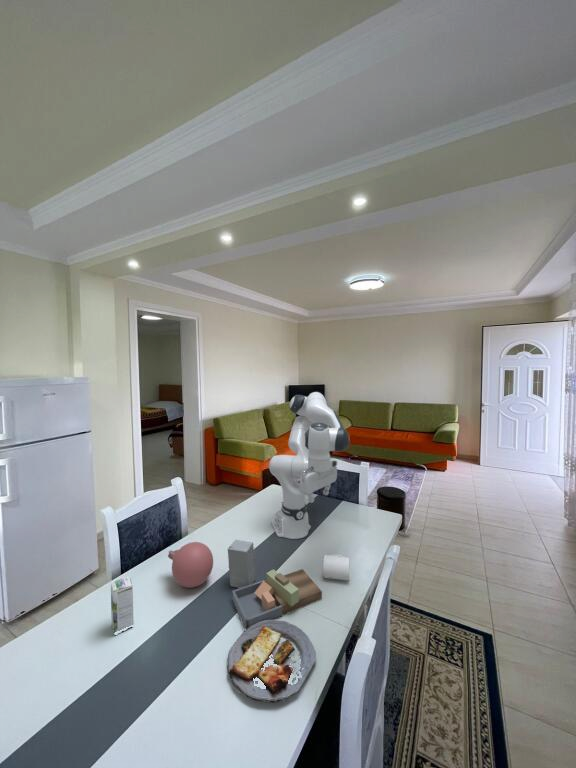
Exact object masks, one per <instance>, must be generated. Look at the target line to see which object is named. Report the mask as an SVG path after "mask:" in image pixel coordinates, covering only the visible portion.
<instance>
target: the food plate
mask: <svg viewBox="0 0 576 768" xmlns="http://www.w3.org/2000/svg"><path fill="white" fill-rule="evenodd" d="M281 638H283V639H284V640H285V641H282V642H281V644H280V646H279V643H280V641H281ZM293 645H294V646H295V647H294V646H293ZM278 646H279V647H278ZM277 647H278V648H277ZM229 648H230V649H229V650H228V655H227V673H228V675H229V677H230V680H231V683H232V684H233V685H234V686H235V688H237V689H238V690H239V691H240V692H241V693H242V694H243V695H245V696H246V698H247V699H248V698H249V699H251V700H252V701H256V702H257V701H258V702H269V703H276V702H277V703H278V702H280V701H281V702H283V700H284V701H285V700H287V699H288V698H289V697H290V696H291V697H292V696H294V695H296V693H298V691H299V690H300V689H301V687H302V685H303V684H304V682H305V680H306V679H307V677H308V675H309V673H310V672H311V670H312V668H313V666H314V665H315V664H316V659H317V656H316V655H317V653H316V650H315V647H314V645H313V642H312V641H311V639H310V638H309V635H307V634H306V632H304V631H303V630H302V628H300V627H298V626H296V625H295V624H292V623H290V622H288V621H286V620H278V619H275V620H264V621H261V622H258V623H256V624H254V625H252V626H249V627H248V628H247V629H246V630H244V631H243V632H242V633H241V634H240V636H239V637H238V638H237V639H236V641H234V643H233V644H232V646H230V647H229ZM295 648H296V649H295ZM296 650H297V652H298V656H299V658H300V659H301V662H300V663H301V664H300V667H301V668H300V670H299V669H298V671H300V672H301V675H302V678H298V682H297V683H296V684H293V685H291V684H288V680H289V678H290V675H291V673H292V671H293V670H294V669H293V668H292V667H289V666H291V665H292V663H291V662H294V661H295V660H292V658H294V659H296V658H295V656H291V655H292V653H293V652H294V651H296ZM271 654H272V655H273V657H272V656H271V658H272V659H274V661H273V662H274V663H273V664H277V665H278V666H273V665H270V666H269V664H268V667H265V670H264V671H263V669H262V670H261V668H264V666H263V665H264V663H266V661H268V660H269V659H270V658H269V656H270V655H271ZM290 663H291V665H290ZM292 666H293V665H292ZM302 668H304V669H303V670H302ZM297 676H299V673H298V674H297ZM256 677H257V678H259V679H260V680H261V681H262V682H263V683H264V685H265V686H266V689H261V688H260V687H257V686H254V681H253V678H254V679H255V678H256ZM295 680H296V677H295V678H293V680H292V683H294V681H295ZM255 684H258V681H255Z"/></svg>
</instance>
